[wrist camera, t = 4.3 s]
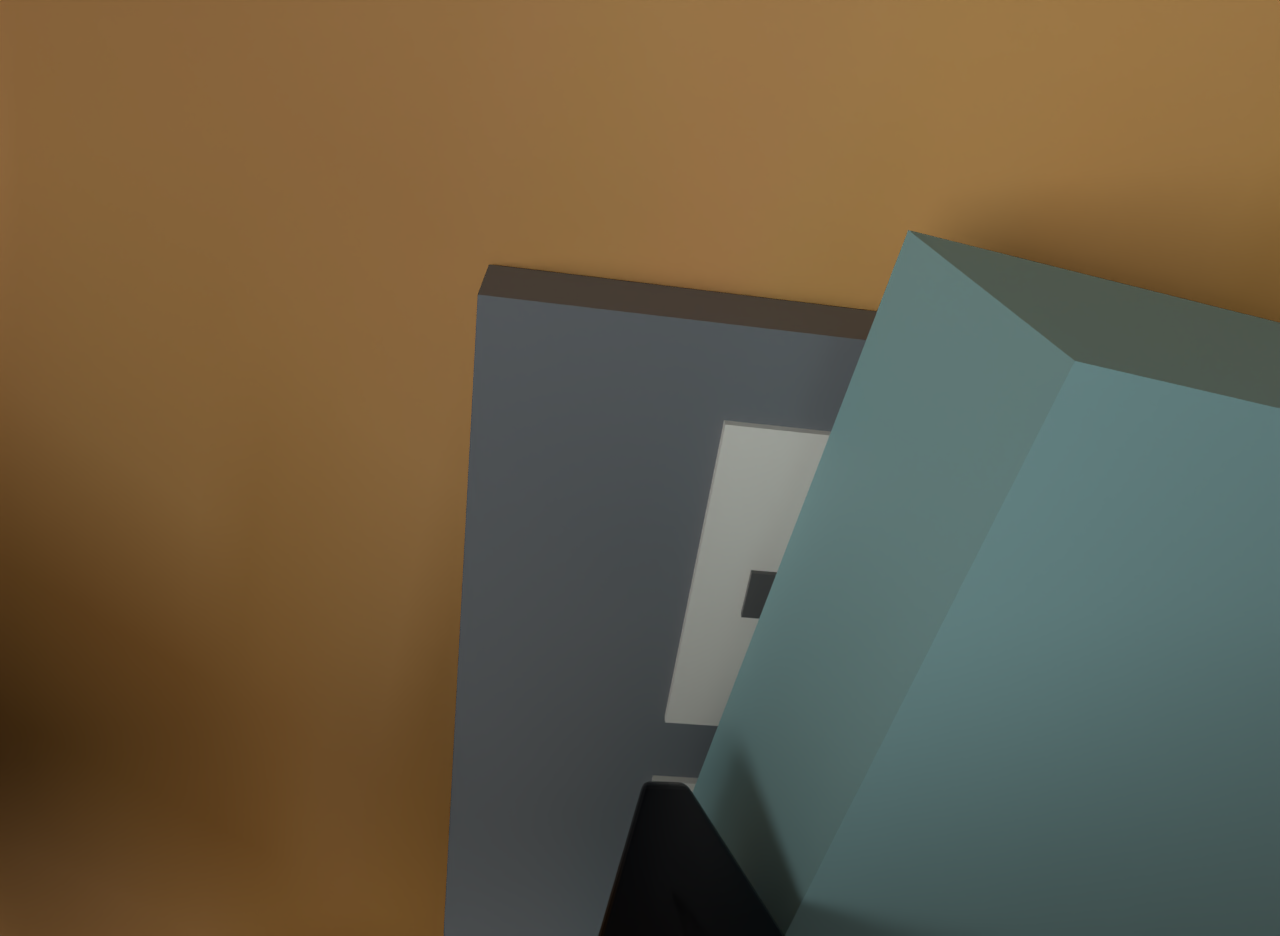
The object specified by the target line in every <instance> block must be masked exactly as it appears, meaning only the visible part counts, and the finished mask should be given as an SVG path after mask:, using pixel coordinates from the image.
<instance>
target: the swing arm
mask: <svg viewBox="0 0 1280 936" xmlns="http://www.w3.org/2000/svg"><path fill="white" fill-rule="evenodd" d="M692 793H693V794H694V796H695V797H696V799H697V800H698V802H699V803H700V805H701V806H702V808H703V810H704V811H705V813H706V814H707V816H708V817H709V819H710V820H711V822H712V824H713V825H714V827H715V828H716V830H717V831H718V833H719V834H720V836H721V837H722V839H723V841H724V842H725V844H726V845H727V847H728V848H729V850H730V851H731V853H732V855H733V856H734V858H735V859H736V861H737V862H738V864H739V865H740V867H741V868H742V870H743V872H744V873H745V875H746V876H747V878H748V879H749V881H750V882H751V884H752V885H753V887H754V889H755V890H756V892H757V893H758V895H759V896H760V898H761V899H762V901H763V903H764V904H765V906H766V907H767V909H768V910H769V912H770V913H771V915H772V916H773V918H774V920H775V921H776V923H777V924H778V926H779V927H780V929H781V930H782V932H783V934H784V935H785V936H1280V323H1279V322H1275V321H1271V320H1267V319H1263V318H1259V317H1255V316H1251V315H1247V314H1243V313H1239V312H1235V311H1231V310H1227V309H1223V308H1219V307H1215V306H1211V305H1207V304H1202V303H1198V302H1194V301H1190V300H1186V299H1182V298H1178V297H1174V296H1170V295H1166V294H1162V293H1158V292H1154V291H1150V290H1146V289H1142V288H1138V287H1134V286H1130V285H1126V284H1122V283H1118V282H1114V281H1110V280H1106V279H1102V278H1098V277H1094V276H1090V275H1086V274H1082V273H1078V272H1074V271H1070V270H1066V269H1062V268H1058V267H1054V266H1050V265H1046V264H1042V263H1038V262H1034V261H1030V260H1026V259H1022V258H1018V257H1014V256H1010V255H1006V254H1002V253H998V252H994V251H990V250H986V249H982V248H978V247H974V246H970V245H966V244H962V243H958V242H954V241H950V240H946V239H942V238H938V237H934V236H930V235H926V234H922V233H918V232H914V231H910V230H908V233H907V235H906V238H905V240H904V243H903V246H902V248H901V251H900V253H899V256H898V259H897V261H896V264H895V266H894V269H893V272H892V274H891V277H890V279H889V282H888V285H887V287H886V290H885V292H884V295H883V298H882V300H881V303H880V305H879V308H878V311H877V313H876V316H875V318H874V321H873V324H872V326H871V329H870V331H869V334H868V337H867V339H866V342H865V345H864V347H863V350H862V352H861V355H860V358H859V360H858V363H857V365H856V368H855V371H854V373H853V376H852V378H851V381H850V384H849V386H848V389H847V391H846V394H845V397H844V399H843V402H842V404H841V407H840V410H839V412H838V415H837V417H836V420H835V423H834V425H833V428H832V430H831V433H830V436H829V438H828V441H827V443H826V446H825V449H824V451H823V454H822V456H821V459H820V462H819V464H818V467H817V470H816V472H815V475H814V477H813V480H812V483H811V485H810V488H809V490H808V493H807V496H806V498H805V501H804V503H803V506H802V509H801V511H800V514H799V516H798V519H797V522H796V524H795V527H794V529H793V532H792V535H791V537H790V540H789V542H788V545H787V548H786V550H785V553H784V555H783V558H782V561H781V563H780V566H779V568H778V571H777V574H776V576H775V579H774V581H773V584H772V587H771V589H770V592H769V595H768V597H767V600H766V602H765V605H764V608H763V610H762V613H761V615H760V618H759V621H758V623H757V626H756V628H755V631H754V634H753V636H752V639H751V641H750V644H749V647H748V649H747V652H746V654H745V657H744V660H743V662H742V665H741V667H740V670H739V673H738V675H737V678H736V680H735V683H734V686H733V688H732V691H731V693H730V696H729V699H728V701H727V704H726V706H725V709H724V712H723V714H722V717H721V719H720V722H719V725H718V727H717V730H716V733H715V735H714V738H713V740H712V743H711V746H710V748H709V751H708V753H707V756H706V759H705V761H704V764H703V766H702V769H701V772H700V774H699V777H698V779H697V782H696V785H695V787H694V790H693V792H692Z"/></svg>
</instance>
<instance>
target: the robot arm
mask: <svg viewBox="0 0 1280 936" xmlns="http://www.w3.org/2000/svg"><path fill="white" fill-rule="evenodd" d="M598 936H785V935H784V934H783V932H782V930H781V929H780V927H779V926H778V924H777V923H776V921H775V920H774V918H773V916H772V915H771V913H770V912H769V910H768V909H767V907H766V906H765V904H764V903H763V901H762V899H761V898H760V896H759V895H758V893H757V892H756V890H755V889H754V887H753V885H752V884H751V882H750V881H749V879H748V878H747V876H746V875H745V873H744V872H743V870H742V868H741V867H740V865H739V864H738V862H737V861H736V859H735V858H734V856H733V855H732V853H731V851H730V850H729V848H728V847H727V845H726V844H725V842H724V841H723V839H722V837H721V836H720V834H719V833H718V831H717V830H716V828H715V827H714V825H713V824H712V822H711V820H710V819H709V817H708V816H707V814H706V813H705V811H704V810H703V808H702V806H701V805H700V803H699V802H698V800H697V799H696V797H695V796H694V794H693V793H692V791H691V790H690V788H689V787H688V786H687V785H685V784H684V783H681V782H661V781H648V782H646V783H644V784H643V786H642V788H641V791H640V794H639V798H638V801H637V804H636V808H635V811H634V815H633V818H632V822H631V825H630V828H629V832H628V835H627V839H626V842H625V845H624V849H623V852H622V856H621V859H620V863H619V866H618V869H617V873H616V876H615V880H614V883H613V887H612V890H611V893H610V897H609V900H608V904H607V907H606V911H605V914H604V917H603V921H602V924H601V928H600V931H599V934H598Z"/></svg>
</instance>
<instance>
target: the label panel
mask: <svg viewBox="0 0 1280 936" xmlns="http://www.w3.org/2000/svg"><path fill="white" fill-rule="evenodd" d="M876 313H877V312H876V311H868V310H860V309H852V308H843V307H835V306H827V305H819V304H811V303H802V302H794V301H786V300H778V299H769V298H761V297H753V296H745V295H736V294H728V293H720V292H712V291H703V290H695V289H687V288H679V287H670V286H662V285H654V284H646V283H637V282H629V281H621V280H613V279H604V278H596V277H588V276H580V275H571V274H563V273H555V272H547V271H539V270H530V269H522V268H514V267H506V266H497V265H489V266H488V269H487V271H486V274H485V277H484V279H483V282H482V285H481V288H480V290H479V293H478V302H477V321H476V340H475V358H474V377H473V396H472V415H471V433H470V452H469V471H468V489H467V508H466V527H465V546H464V564H463V583H462V602H461V621H460V639H459V658H458V677H457V696H456V714H455V733H454V752H453V770H452V789H451V808H450V827H449V845H448V864H447V883H446V902H445V920H444V936H598V934H599V931H600V928H601V924H602V921H603V917H604V914H605V911H606V907H607V904H608V900H609V897H610V893H611V890H612V887H613V883H614V880H615V876H616V873H617V869H618V866H619V863H620V859H621V856H622V852H623V849H624V845H625V842H626V839H627V835H628V832H629V828H630V825H631V822H632V818H633V815H634V811H635V808H636V804H637V801H638V798H639V794H640V791H641V788H642V786H643V784H644V783H646V782H648V781H661V782H681V783H684V784H685V785H687V786H688V787H689V788H690V790H691V791H692V792H693V790H694V787H695V785H696V782H697V779H698V777H699V774H700V772H701V769H702V766H703V764H704V761H705V759H706V756H707V753H708V751H709V748H710V746H711V743H712V740H713V738H714V735H715V733H716V730H717V727H718V725H719V722H720V719H721V717H722V714H723V712H724V709H725V706H726V704H727V701H728V699H729V696H730V693H731V691H732V688H733V686H734V683H735V680H736V678H737V675H738V673H739V670H740V667H741V665H742V662H743V660H744V657H745V654H746V652H747V649H748V647H749V644H750V641H751V639H752V636H753V634H754V631H755V628H756V626H757V623H758V621H759V618H760V615H761V613H762V610H763V608H764V605H765V602H766V600H767V597H768V595H769V592H770V589H771V587H772V584H773V581H774V579H775V576H776V574H777V571H778V568H779V566H780V563H781V561H782V558H783V555H784V553H785V550H786V548H787V545H788V542H789V540H790V537H791V535H792V532H793V529H794V527H795V524H796V522H797V519H798V516H799V514H800V511H801V509H802V506H803V503H804V501H805V498H806V496H807V493H808V490H809V488H810V485H811V483H812V480H813V477H814V475H815V472H816V470H817V467H818V464H819V462H820V459H821V456H822V454H823V451H824V449H825V446H826V443H827V441H828V438H829V436H830V433H831V430H832V428H833V425H834V423H835V420H836V417H837V415H838V412H839V410H840V407H841V404H842V402H843V399H844V397H845V394H846V391H847V389H848V386H849V384H850V381H851V378H852V376H853V373H854V371H855V368H856V365H857V363H858V360H859V358H860V355H861V352H862V350H863V347H864V345H865V342H866V339H867V337H868V334H869V331H870V329H871V326H872V324H873V321H874V318H875V316H876Z"/></svg>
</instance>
